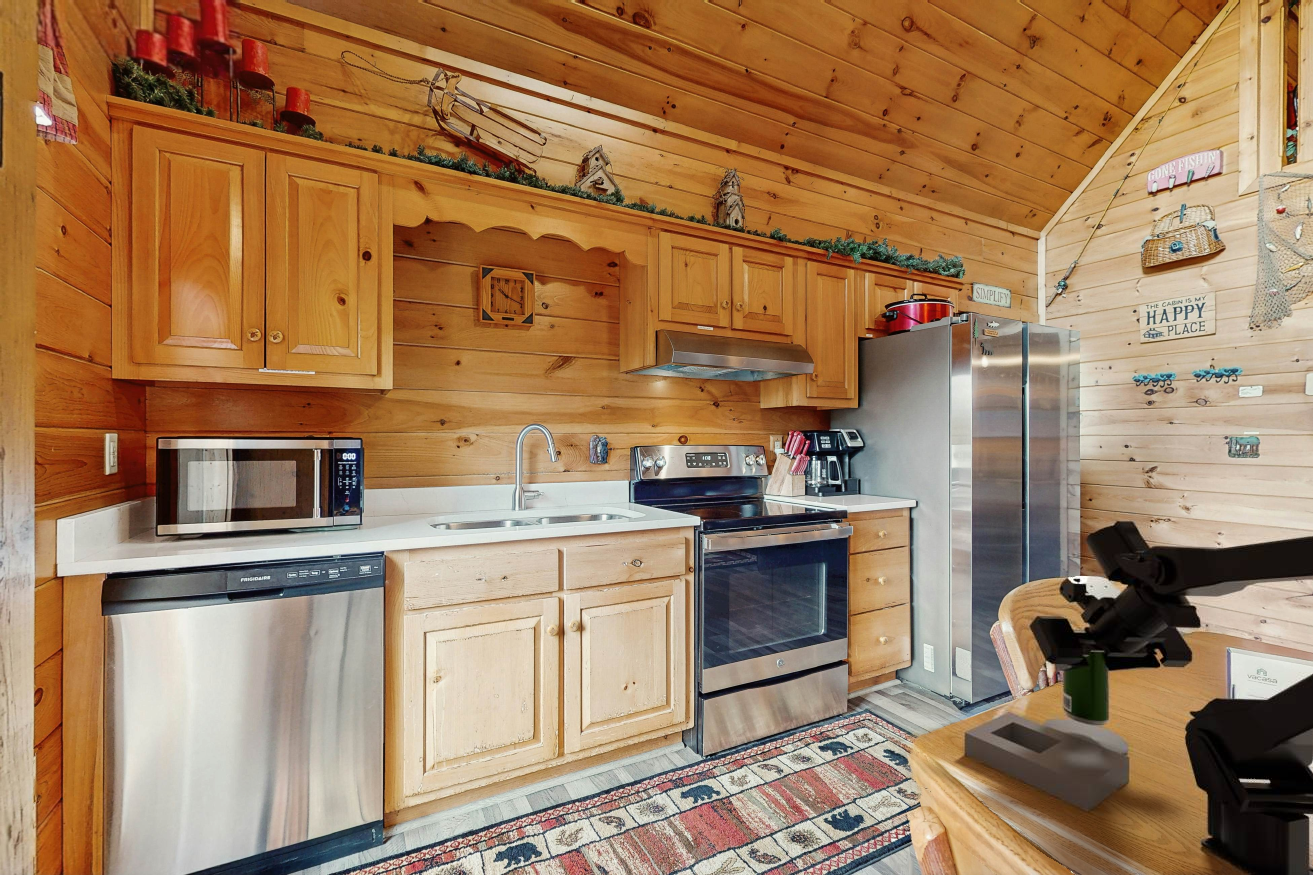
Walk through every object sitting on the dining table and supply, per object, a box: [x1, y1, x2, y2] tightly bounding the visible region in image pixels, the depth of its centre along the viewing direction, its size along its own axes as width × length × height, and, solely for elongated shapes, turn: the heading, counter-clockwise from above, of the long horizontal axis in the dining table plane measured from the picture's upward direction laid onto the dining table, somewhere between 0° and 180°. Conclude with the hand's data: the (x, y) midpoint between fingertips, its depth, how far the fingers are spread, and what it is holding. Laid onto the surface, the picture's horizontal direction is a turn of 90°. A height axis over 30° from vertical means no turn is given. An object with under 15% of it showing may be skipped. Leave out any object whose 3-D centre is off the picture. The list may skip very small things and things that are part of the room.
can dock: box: [964, 711, 1130, 812], centre depth 76 cm, size 14×12×3 cm
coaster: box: [1042, 718, 1130, 756], centre depth 84 cm, size 10×10×1 cm
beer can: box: [1062, 629, 1110, 727], centre depth 84 cm, size 5×5×12 cm
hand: (1078, 667), depth 85 cm, fingers closed on beer can, 5 cm apart
